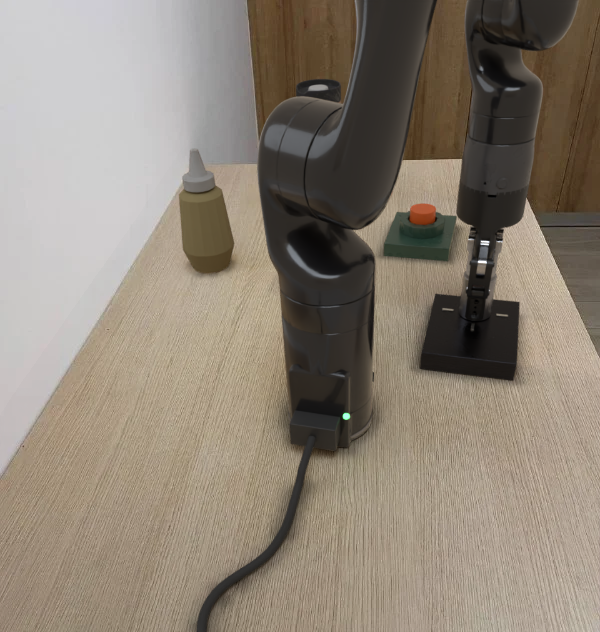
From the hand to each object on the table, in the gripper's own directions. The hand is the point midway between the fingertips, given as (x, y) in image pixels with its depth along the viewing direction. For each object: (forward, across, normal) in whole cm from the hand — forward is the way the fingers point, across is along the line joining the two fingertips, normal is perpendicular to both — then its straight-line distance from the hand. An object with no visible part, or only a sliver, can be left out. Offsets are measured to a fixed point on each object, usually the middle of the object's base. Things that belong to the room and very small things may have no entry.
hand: (475, 308), depth 82 cm
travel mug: (+3, -37, -30) cm, 48 cm away
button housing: (+3, -24, -10) cm, 26 cm away
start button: (0, -24, -10) cm, 26 cm away
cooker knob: (+1, 0, 0) cm, 1 cm away
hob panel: (+3, +3, 0) cm, 4 cm away
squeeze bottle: (+3, -10, -41) cm, 42 cm away
